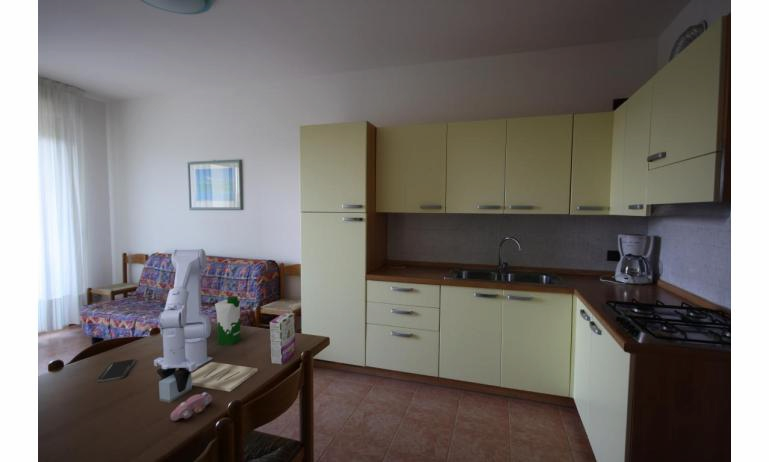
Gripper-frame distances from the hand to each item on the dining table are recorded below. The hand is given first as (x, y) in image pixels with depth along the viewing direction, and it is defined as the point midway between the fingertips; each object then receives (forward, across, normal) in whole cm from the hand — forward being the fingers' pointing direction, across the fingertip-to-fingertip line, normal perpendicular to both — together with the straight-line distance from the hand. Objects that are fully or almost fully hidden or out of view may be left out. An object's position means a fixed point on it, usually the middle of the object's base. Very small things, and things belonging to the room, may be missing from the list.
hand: (176, 389), depth 105 cm
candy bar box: (+2, +18, +32) cm, 37 cm away
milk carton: (+2, -14, +40) cm, 42 cm away
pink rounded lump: (+2, +13, -7) cm, 15 cm away
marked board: (+2, +5, +13) cm, 14 cm away
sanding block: (+2, 0, 0) cm, 2 cm away
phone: (+2, -34, +7) cm, 35 cm away
